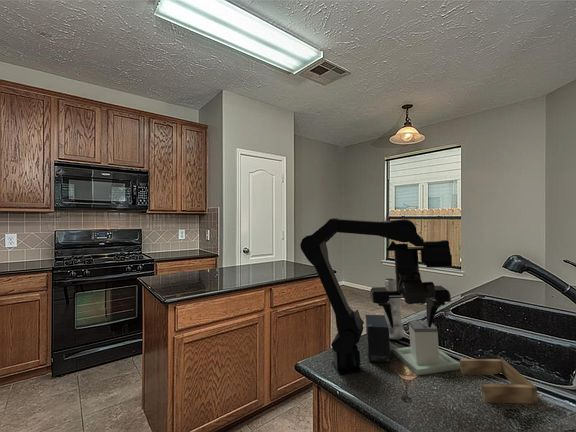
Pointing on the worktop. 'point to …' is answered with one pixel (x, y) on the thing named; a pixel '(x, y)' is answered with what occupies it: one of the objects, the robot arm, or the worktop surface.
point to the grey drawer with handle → (424, 343)
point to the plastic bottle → (394, 312)
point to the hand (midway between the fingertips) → (410, 327)
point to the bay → (501, 392)
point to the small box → (377, 338)
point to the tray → (444, 365)
